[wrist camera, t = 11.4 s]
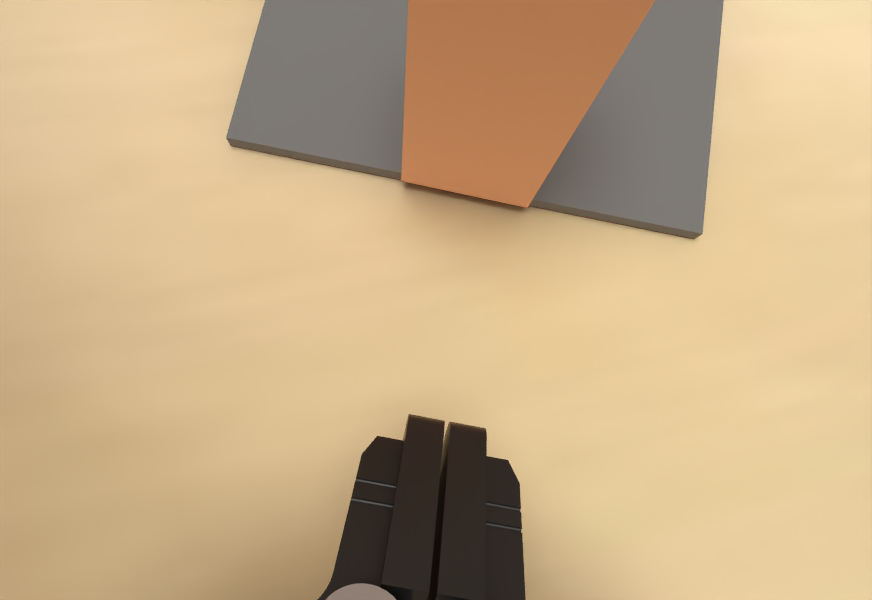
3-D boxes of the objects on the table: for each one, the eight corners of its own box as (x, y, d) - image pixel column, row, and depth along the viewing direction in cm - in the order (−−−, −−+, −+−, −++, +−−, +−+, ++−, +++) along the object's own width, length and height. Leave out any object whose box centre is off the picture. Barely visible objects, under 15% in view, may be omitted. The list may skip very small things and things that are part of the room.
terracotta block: (401, 181, 21) (413, -132, 9) (426, 67, 22) (466, -345, 10) (527, 207, 21) (697, -68, 9) (546, 94, 22) (722, -284, 10)
